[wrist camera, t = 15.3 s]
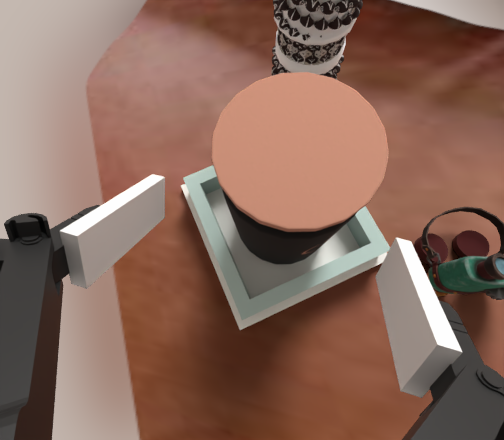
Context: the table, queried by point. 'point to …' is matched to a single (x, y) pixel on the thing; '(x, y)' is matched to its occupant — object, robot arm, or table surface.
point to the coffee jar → (297, 162)
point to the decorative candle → (312, 35)
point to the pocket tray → (268, 274)
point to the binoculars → (464, 260)
